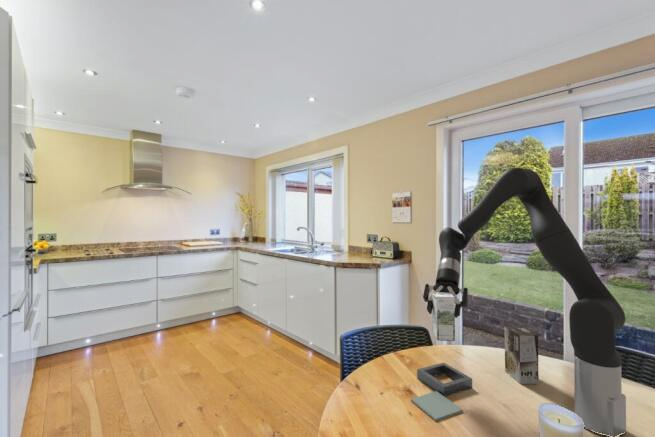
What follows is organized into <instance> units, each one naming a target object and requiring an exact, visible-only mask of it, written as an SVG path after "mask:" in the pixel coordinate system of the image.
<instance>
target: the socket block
mask: <svg viewBox="0 0 655 437" xmlns="http://www.w3.org/2000/svg"><path fill="white" fill-rule="evenodd" d="M416 371H417V372H416V373H417V374H416V376H417V377H416V378H417V379H418V380H419V381H420V382H422V383H424V385H426V386H428V387H429V388H431V389H432V390H433V391H434V392H435V391H437V392H439V393H440V394H441V395H443V396H444V397H446V398H447V397H449V396H452V395H454V394H457V393H462V392H463V391H468V390H470V389H473V378H472V377H471V376H468V375H466V374H464V373H463V372H461V371H460V370H458V369H455V368H454V367H453V366H451V365H449V364H447V363H445V362H440V363H436V364H433V365H429V366H424V367H421V368H418V369H417V370H416ZM440 375H445V376H447V377H448V378H450V379H452V381H448V382H442V381H441V380H440V379H437V378H436V377H437V376H440Z"/></svg>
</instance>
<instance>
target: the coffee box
mask: <svg viewBox="0 0 655 437" xmlns="http://www.w3.org/2000/svg"><path fill="white" fill-rule="evenodd" d="M503 327H504V366H505V367H504V371H505V373H507V374H508V375H509V374H510V377H512V378H513V379H514V380H515V381H517V383H519V384H520V385H539V381H540V380H539V377H540V376H539V335H538V333H536V332H533V331H532V330H529V329H528V328H526V327H524V326H522V325H511V326H507V325H505V326H503Z"/></svg>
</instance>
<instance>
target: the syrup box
mask: <svg viewBox="0 0 655 437" xmlns="http://www.w3.org/2000/svg"><path fill="white" fill-rule="evenodd" d="M431 295H432V303H433V308H432V334H433V336H434V339H435V340H436V341H441V342H442V341H443V342H444V341H445V342H455V341H456V322H455V321H456V318H455V316H454V313H455V297H454V296H453V295H452V294H451V293H433V292H432V293H431Z"/></svg>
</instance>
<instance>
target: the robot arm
mask: <svg viewBox="0 0 655 437" xmlns="http://www.w3.org/2000/svg"><path fill="white" fill-rule="evenodd" d="M514 197H515V198H516V197H517V198H518V200H520V201H521V203H522V204H523V207H524V209H526V211H527V214H528V217H529V220H530V229H531V230H530V232H531V235H532V238H533V241H534V243H535V245H536V247H537V249H538V250H539V252H540V254H541V255H542V256H543V258H544V260H545V261H546V262H547V264H549V265H550V267H552V269H554V270H555V271H556V272H557V273H558V274H559V275H560V276H561V277H562V278H563V279H564V280H565V281H566V282H567V283H568V285H569V286H570V288H571V290H572V291H573V293H574V295H575V297H576V298H577V301H575V302H574V303H573V304H572V305H571V307H570V310H569V318H568V319H569V336H570V343H571V346H572V348H573V370H574V372H573V375H574V376H573V380H574V382H573V383H574V384H573V387H574V389H573V390H574V398H573V400H574V409H573V411H574V414H575V413H576V414H577V415H578V416H579V417H581V418H582V420H583V422H584V425H585V428H584V429H586V430H587V429H589V430H593V431H595V432H598V433H602V434H606V435H610V436H613V437H615V436H617V435H619V434H621V433H624V432H625V431H626V432H627V403H626V402H627V397H626V395H625V393H622V392H623V391H622V390H623V389H622V388H623V387H622V386H623V384H622V355H621V353H620V352H619V351H618V350H617V349H616V339H615V338H616V336H615V332H617V331H618V330H620V329H622V328H623V327H624V326H625V323H626V315H625V314H626V313H625V311H624V309H623V308H622V306H621V305H620V303H619V302H618V300H617V299H616V298H615V297H614V296H613V295H612V293H611V292H610V290H609V289H608V288H607V286H606V285H605V284H604V283H603V281H602V280H601V279H600V277H599V276H598V275H597V273H596V271H595V269H594V267H593V265H592V264H591V263H590V260H589V259H588V257H587V256H586V254H585V252H584V251H583V249H582V247H581V246H580V244H579V242H578V241H577V238H576V237H575V236H574V234H573V232H572V231H571V229H570V228H569V226H568V225H567V224H566V221H565V220H564V218H563V217H562V215H561V214H560V212H559V211H558V209H557V208H556V207H555V205H554V204H553V202H552V200H551V198H550V196H549V194H548V192H547V189H546V187H545V185H544V182H543V180H542V179H541V177H540V175H539V174H538V173H537V172H536V171H535V170H532V169H529V168H523V167H510V168H508V169H507V170H504V171H503V173H502V174H501V175H500V176H499V178H497V180H496V181H495V182H494V183H493V185H492V187H491V188H490V189H489V190H488V191H487V192H486V194H485V195H483V197H482V199H481V200H480V201H479V202H478V203H477V204H476V205H475V206H474V207H473V208H472V209H471V210H470V211H469V212H468V213H466V214H465V215H464V216H463V218H461V219H460V220H459V222H457V227H458V228H457V229H458V230H459V231H460V232H459V231H458V230H456V229H455V228H452V227H445V228H443V229H441V231H440V233H439V236H438V243H439V249H440V259H439V263H438V267H437V271H436V279H435V283H434V285H430V284H429V283H426V284H425V286H424V290H423V294H422V298H423V300H424V302H425V303H427V305H426V311H427V312H428V314H429V315H433V303H432V294H431V295H430V293H431V292H432V291H433V292H432V293H451V294H452V295H453V296H454V297H455V313H454V316H455V319H458V318H459V317H460V315H461V308H463V307H464V308H467V307H468V304H469V303H468V302H469V290H468V288H467V287H464V288H460V287H459V284H460V278H461V260H462V253H461V251H464V250H465V249H466V248H467V246H468V245H469V243H470V241H471V240H472V238H474V236H475V235H476V234H477V233H478V232H479V231H480V230H481V229H482V228H484V227H485V226H486V225H488V223H489V222H490V220H491V219H492V217H493V216H494V214H495V213H496V211H497V209H499V207H501V206H502V205H503V204H504V203H505V202H507V201H509V200H511V199H512V198H514ZM459 294H461V296H462V301H460V299H459V298H458V296H457V295H459ZM589 430H588V431H589Z"/></svg>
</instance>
